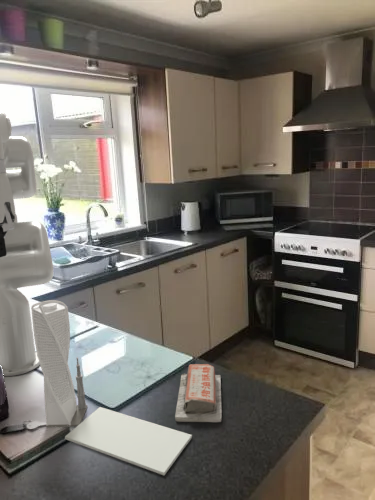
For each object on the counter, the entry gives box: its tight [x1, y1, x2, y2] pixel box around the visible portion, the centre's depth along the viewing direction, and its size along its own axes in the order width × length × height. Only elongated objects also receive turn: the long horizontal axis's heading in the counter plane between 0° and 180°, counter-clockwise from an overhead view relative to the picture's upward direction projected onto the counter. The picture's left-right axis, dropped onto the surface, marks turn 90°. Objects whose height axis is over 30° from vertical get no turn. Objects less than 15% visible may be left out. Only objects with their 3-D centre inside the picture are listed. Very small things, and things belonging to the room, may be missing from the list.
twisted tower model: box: [30, 299, 88, 428], centre depth 86 cm, size 8×8×28 cm
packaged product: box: [174, 363, 223, 423], centre depth 95 cm, size 18×5×10 cm
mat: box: [64, 406, 193, 476], centre depth 83 cm, size 23×11×1 cm, turn 63°
